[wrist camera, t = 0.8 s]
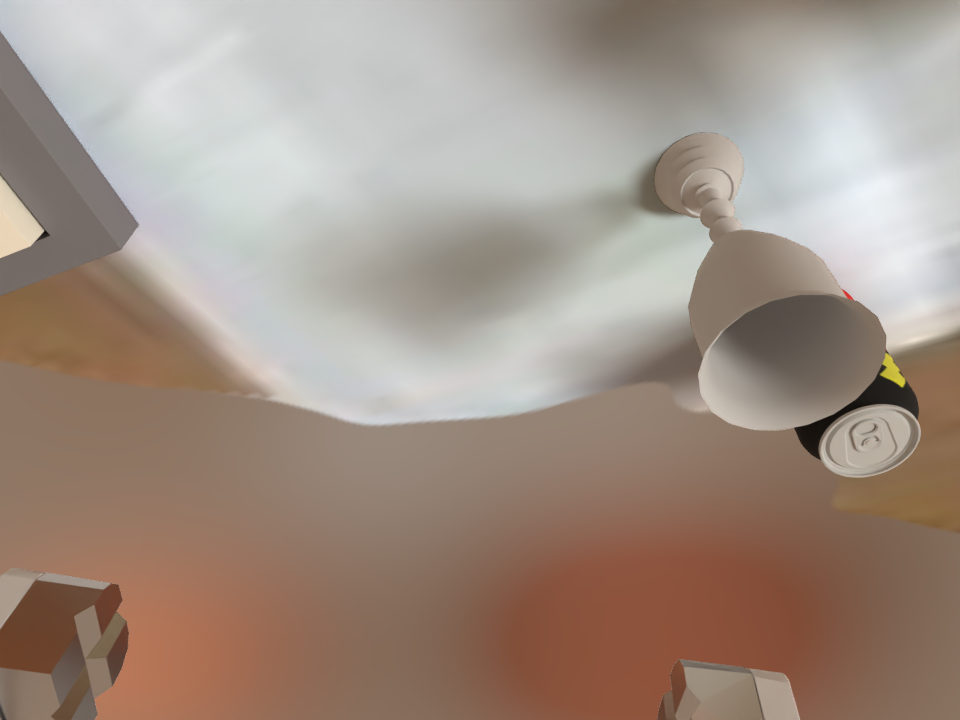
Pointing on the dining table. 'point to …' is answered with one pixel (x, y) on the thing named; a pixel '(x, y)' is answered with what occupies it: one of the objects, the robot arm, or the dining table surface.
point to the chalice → (764, 305)
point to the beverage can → (868, 427)
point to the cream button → (15, 222)
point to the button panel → (52, 183)
